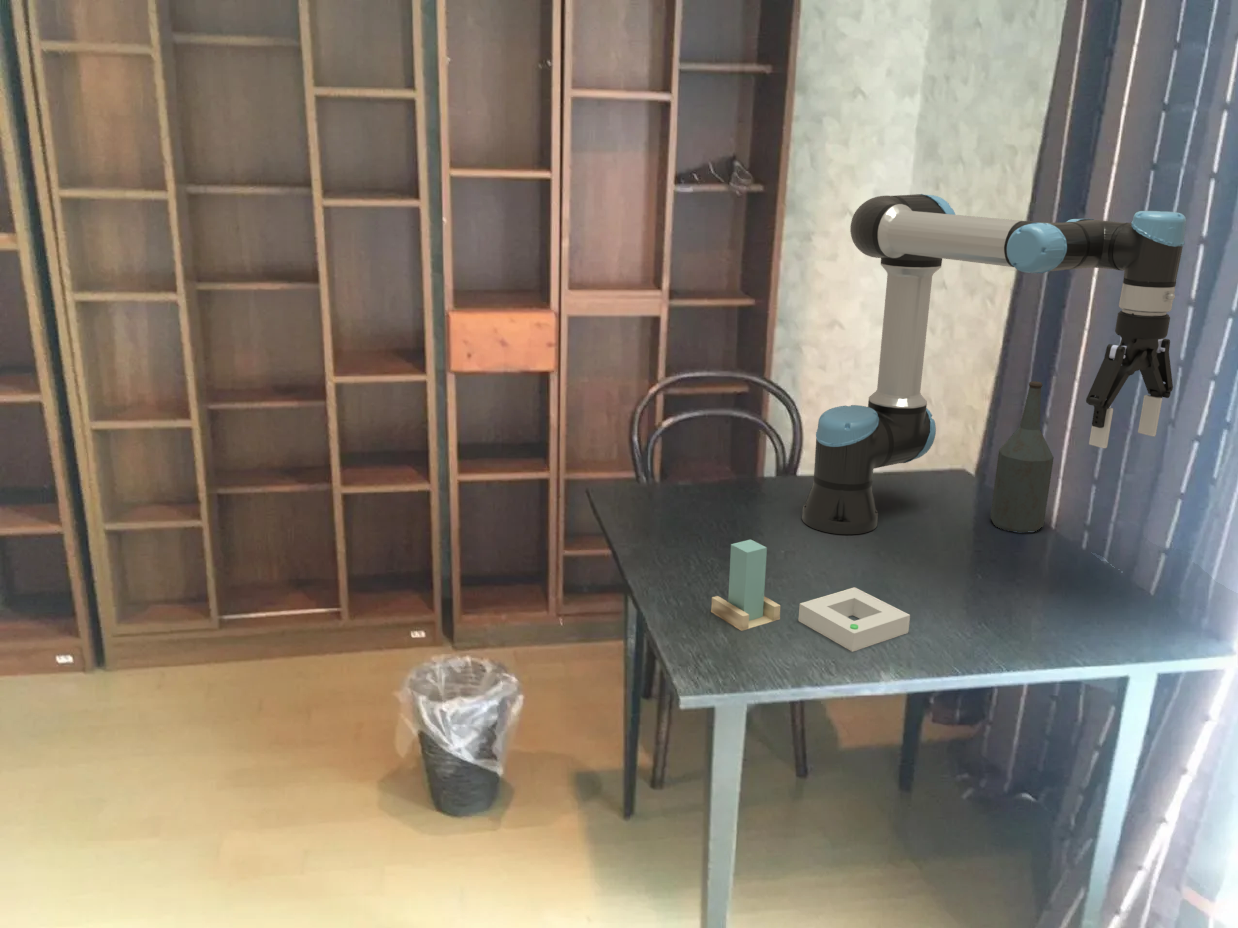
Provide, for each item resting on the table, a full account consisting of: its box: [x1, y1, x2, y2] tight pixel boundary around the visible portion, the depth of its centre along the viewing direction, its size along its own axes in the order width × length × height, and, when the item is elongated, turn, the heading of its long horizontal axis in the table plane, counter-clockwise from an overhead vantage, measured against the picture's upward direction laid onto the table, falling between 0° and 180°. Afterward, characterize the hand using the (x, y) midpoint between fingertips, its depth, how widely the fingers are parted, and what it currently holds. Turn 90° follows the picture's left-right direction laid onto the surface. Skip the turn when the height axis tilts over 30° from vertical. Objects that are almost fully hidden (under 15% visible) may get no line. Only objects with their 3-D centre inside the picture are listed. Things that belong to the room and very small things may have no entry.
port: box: [798, 587, 911, 653], centre depth 161 cm, size 12×12×5 cm
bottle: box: [989, 381, 1054, 532], centre depth 205 cm, size 10×10×30 cm
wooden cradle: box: [710, 595, 781, 632], centre depth 165 cm, size 8×8×4 cm
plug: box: [727, 539, 768, 621], centre depth 163 cm, size 4×4×12 cm
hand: (1122, 440), depth 169 cm, fingers open, 13 cm apart
